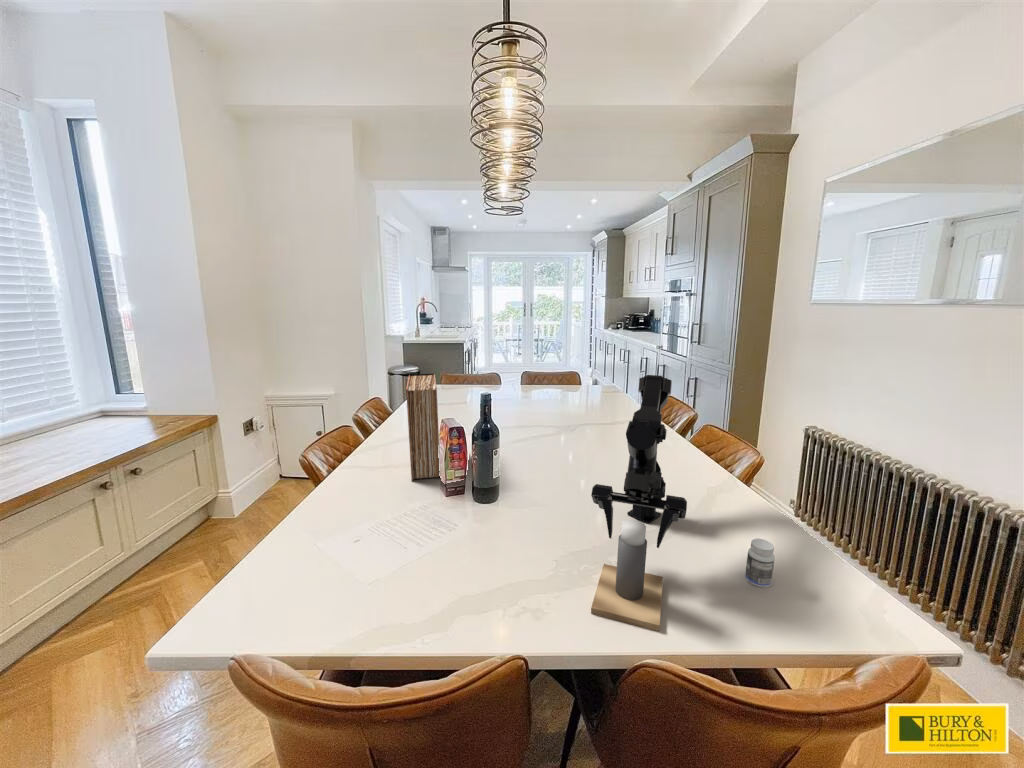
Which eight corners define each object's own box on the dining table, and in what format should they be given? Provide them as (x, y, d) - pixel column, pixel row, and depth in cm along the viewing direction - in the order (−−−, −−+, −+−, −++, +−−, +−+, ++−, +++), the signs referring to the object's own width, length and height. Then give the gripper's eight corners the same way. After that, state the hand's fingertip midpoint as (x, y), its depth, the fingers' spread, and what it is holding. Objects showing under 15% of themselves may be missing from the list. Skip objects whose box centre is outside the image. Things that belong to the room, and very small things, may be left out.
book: (440, 479, 136) (436, 387, 130) (411, 481, 135) (405, 389, 128) (438, 451, 161) (434, 373, 154) (413, 453, 159) (408, 374, 153)
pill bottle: (747, 570, 91) (751, 534, 89) (773, 579, 88) (778, 542, 86) (742, 581, 87) (747, 544, 85) (768, 591, 84) (774, 553, 83)
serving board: (603, 568, 91) (603, 563, 91) (662, 581, 87) (662, 576, 87) (590, 613, 79) (591, 607, 78) (659, 631, 74) (659, 625, 74)
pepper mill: (633, 580, 86) (638, 517, 83) (648, 597, 81) (653, 531, 78) (610, 584, 85) (614, 520, 82) (623, 602, 80) (628, 534, 77)
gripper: (594, 448, 89) (581, 522, 82) (690, 460, 83) (686, 542, 75) (599, 469, 98) (588, 537, 91) (686, 481, 92) (682, 556, 84)
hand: (633, 542), depth 85 cm, fingers open, 9 cm apart
